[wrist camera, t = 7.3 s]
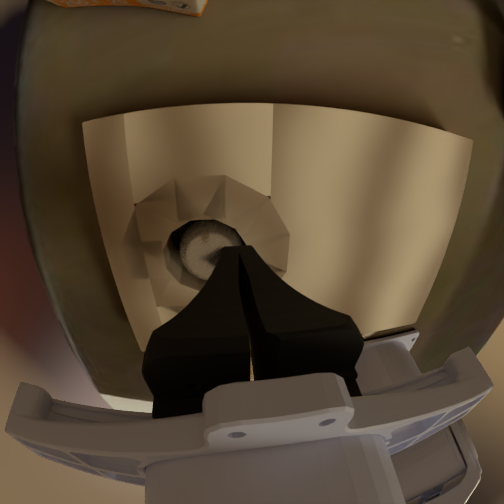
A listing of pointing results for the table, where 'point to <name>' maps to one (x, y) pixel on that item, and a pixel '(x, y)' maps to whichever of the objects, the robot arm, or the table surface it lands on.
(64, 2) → the supplement box
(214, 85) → the table surface
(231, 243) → the ball
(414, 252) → the beige flat block
